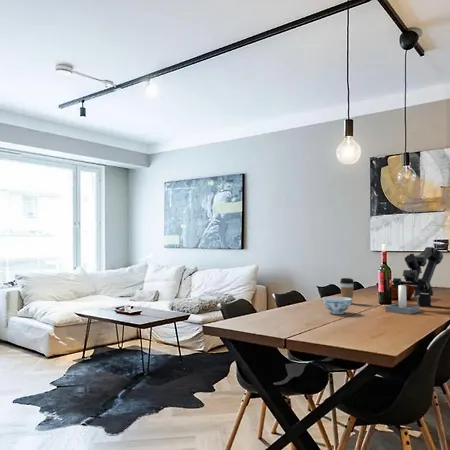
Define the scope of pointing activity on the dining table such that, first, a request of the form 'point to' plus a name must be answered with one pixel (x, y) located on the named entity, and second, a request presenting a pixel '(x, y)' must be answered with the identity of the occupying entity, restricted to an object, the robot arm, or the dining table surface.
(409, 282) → the robot arm
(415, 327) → the dining table surface
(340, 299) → the chinaware
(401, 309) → the socket tray
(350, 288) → the coffee cup
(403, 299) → the peg
